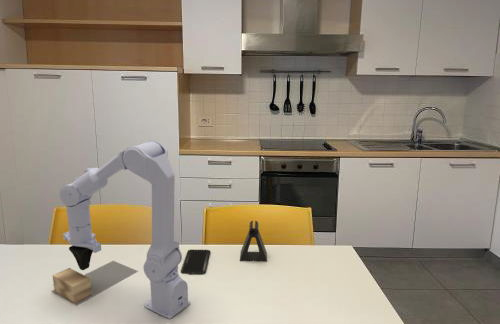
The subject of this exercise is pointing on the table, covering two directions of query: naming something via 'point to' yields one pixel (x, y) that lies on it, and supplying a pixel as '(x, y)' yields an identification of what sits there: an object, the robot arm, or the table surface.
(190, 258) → the phone
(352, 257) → the table surface
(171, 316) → the robot arm
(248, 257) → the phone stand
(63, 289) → the oak block
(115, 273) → the rubber mat
